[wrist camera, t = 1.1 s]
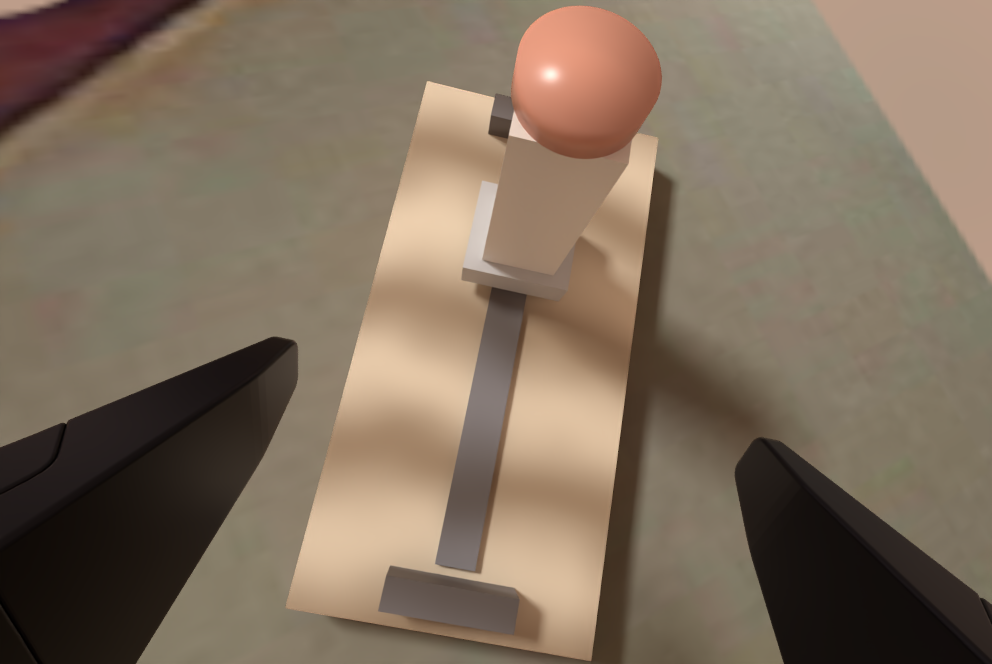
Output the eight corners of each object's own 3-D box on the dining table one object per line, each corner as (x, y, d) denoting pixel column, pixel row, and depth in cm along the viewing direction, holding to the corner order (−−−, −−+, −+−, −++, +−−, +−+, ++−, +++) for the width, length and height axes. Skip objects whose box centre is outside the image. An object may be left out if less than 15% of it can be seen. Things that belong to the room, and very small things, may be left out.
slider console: (577, 640, 21) (603, 678, 17) (300, 591, 20) (271, 622, 17) (642, 160, 26) (670, 120, 23) (428, 108, 25) (426, 59, 22)
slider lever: (558, 301, 21) (672, 165, 11) (461, 280, 21) (479, 119, 10) (572, 220, 22) (689, 21, 11) (479, 198, 22) (512, -25, 11)
